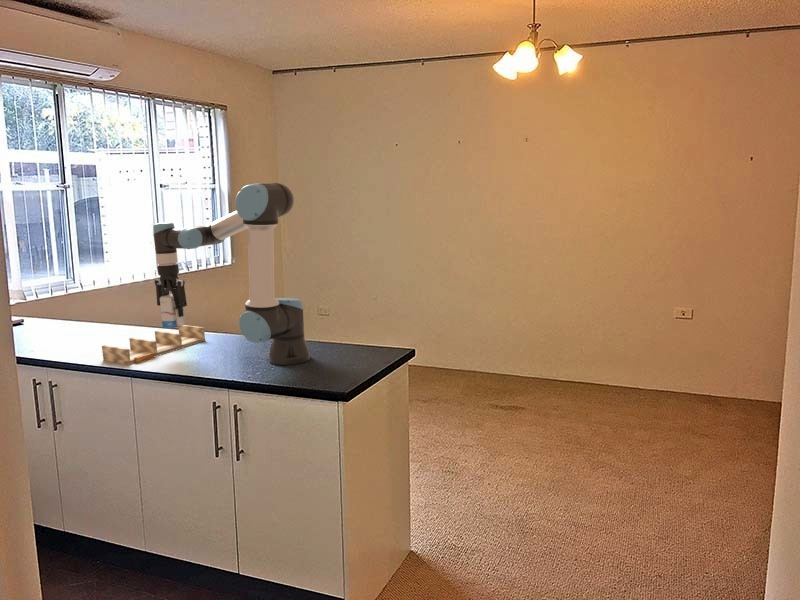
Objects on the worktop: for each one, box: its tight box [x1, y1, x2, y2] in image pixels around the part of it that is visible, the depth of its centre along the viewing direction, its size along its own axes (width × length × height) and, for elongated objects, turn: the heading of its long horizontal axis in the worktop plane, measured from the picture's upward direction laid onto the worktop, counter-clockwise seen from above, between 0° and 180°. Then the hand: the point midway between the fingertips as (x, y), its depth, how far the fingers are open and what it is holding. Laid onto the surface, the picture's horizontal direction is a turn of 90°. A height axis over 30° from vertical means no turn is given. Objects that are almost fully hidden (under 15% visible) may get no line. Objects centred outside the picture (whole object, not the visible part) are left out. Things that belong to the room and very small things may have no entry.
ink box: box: [159, 293, 186, 329], centre depth 255 cm, size 9×5×12 cm, turn 167°
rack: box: [101, 324, 206, 366], centre depth 267 cm, size 16×38×6 cm, turn 151°
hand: (174, 324), depth 256 cm, fingers closed on ink box, 6 cm apart
